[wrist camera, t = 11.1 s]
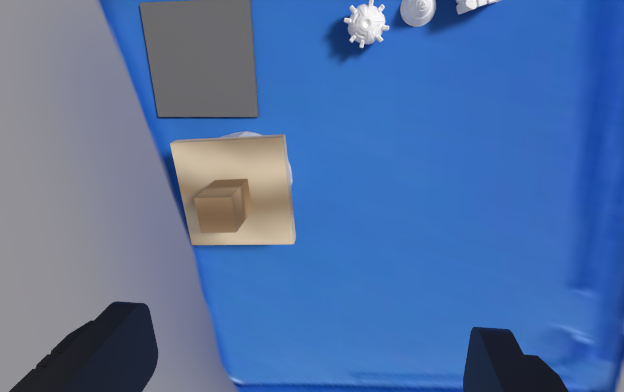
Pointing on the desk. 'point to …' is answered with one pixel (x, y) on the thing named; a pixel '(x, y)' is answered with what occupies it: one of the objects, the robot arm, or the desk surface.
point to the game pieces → (414, 12)
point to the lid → (236, 190)
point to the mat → (201, 57)
